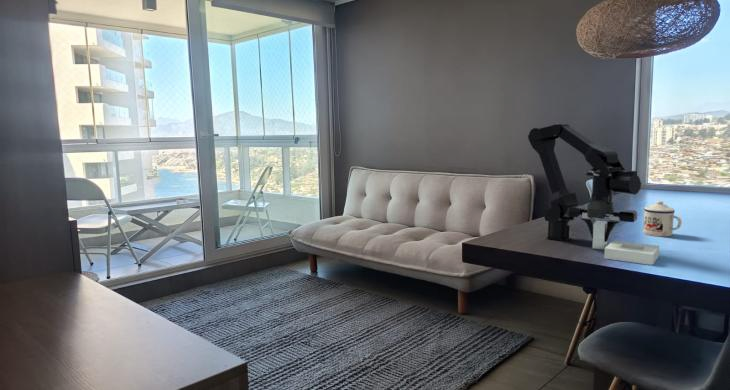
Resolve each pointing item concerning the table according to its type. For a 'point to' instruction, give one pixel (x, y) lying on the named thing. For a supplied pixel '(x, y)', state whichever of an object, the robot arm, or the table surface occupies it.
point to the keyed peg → (599, 235)
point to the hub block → (632, 252)
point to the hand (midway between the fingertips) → (599, 240)
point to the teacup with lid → (660, 220)
